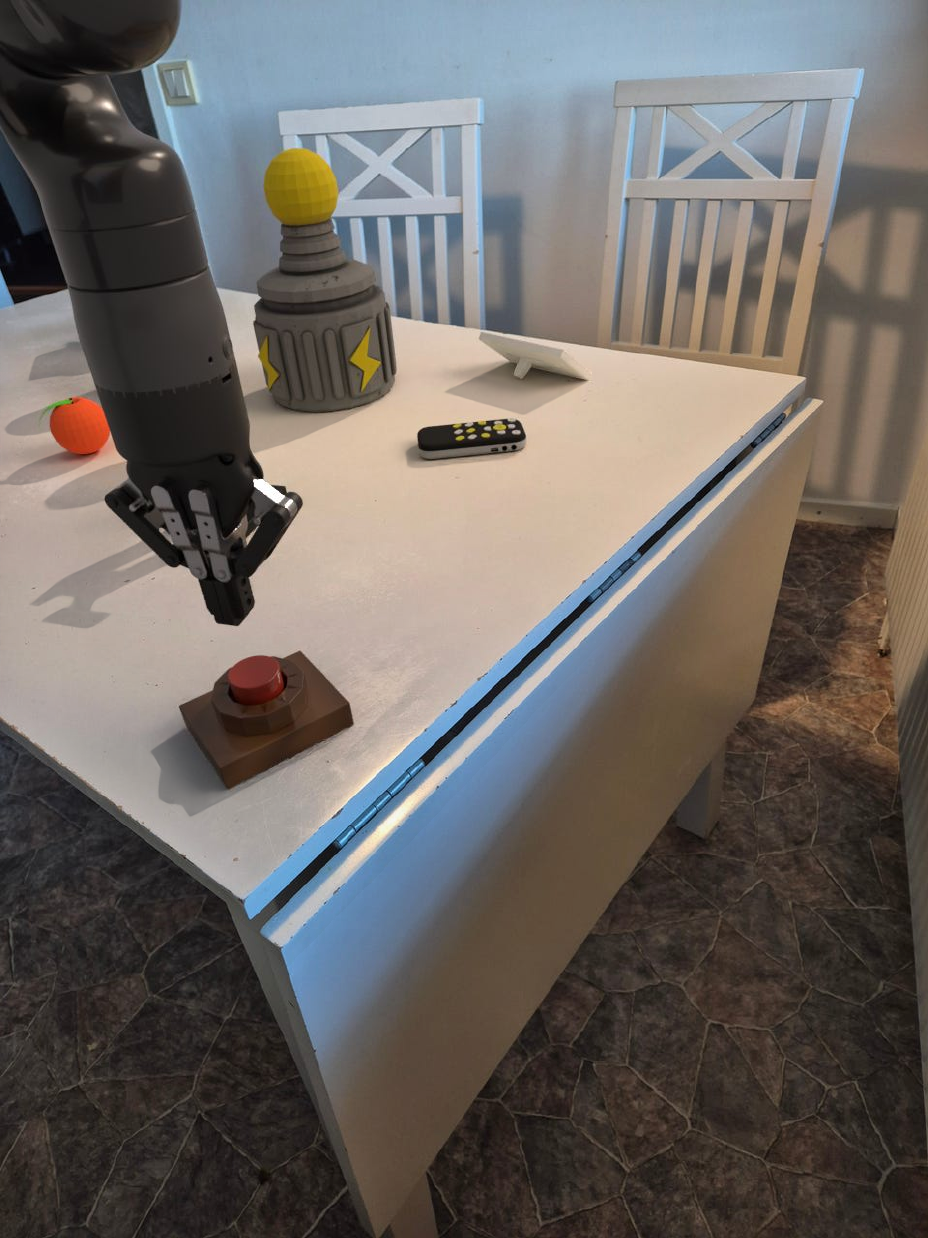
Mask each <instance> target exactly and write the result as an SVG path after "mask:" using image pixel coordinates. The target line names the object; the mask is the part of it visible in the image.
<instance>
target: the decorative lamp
mask: <svg viewBox="0 0 928 1238" xmlns="http://www.w3.org/2000/svg"><path fill="white" fill-rule="evenodd" d="M262 187H263V193H264V197H265V203H266V204H267V206H268V208H269V210H270V212H271V213H272V215H273V216H274V217H275V219H277V220H278V221H279V222H280V223H281V225H280V235H281V236H282V239H281V240H280V242H279V252H281V253H282V254H281V256H280V257H279V258H278V266H277V267H274V268H273V269H270V270H269V271H268V272H266V273H265V274H263V275H262V276H261V277H259V279H257V281H256V289H257V296H258V297H260V298H259V299H258V300H257V302H255V304H254V305H253V308H254V314H255V318H254V319H255V320H253V321H252V326H253V329H254V334H255V335H254V336H255V340H256V343H257V349H258V355H257V358H258V359H259V361H260V362H261V366H262V372H263V376H264V380H265V384H266V386H267V388H268V391H269V393H270V394H271V395H272V398H273V400H274V401H276V402H277V403H278V404H279V405H281V406H283V407H284V408H288V409H290V410H294V411H299V412H308V413H325V412H327V413H328V412H336V411H343V410H349V409H354V408H356V407H361V406H363V405H368V404H370V403H372V402H374V401H376V400H378V399H381V398H383V397H384V396H385V395H386V394H388V393H389V392H390V391H391V389H393V388H394V385H395V381H396V377H395V375H396V374H397V371H398V370H397V369H398V367H397V357H396V348H395V341H394V333H393V325H392V316H391V308H390V304H389V302H387V301H386V293H385V292H384V290H383V289H382V287H380V286H378V285H376V281H377V276H376V272H375V269H374V268H373V267H372V265H369V264H367V263H363V262H361V261H359V260H356V259H352V258H348V256H347V255H346V252H345V251H344V249H341V247H340V246H341V245H342V241H341V239H340V236H339V235H338V234H337V233H335V231H334V230H335V229H336V226H335V224H334V222H333V219H332V218H331V217H332V216H333V214H334V213H335V211H336V209H337V205H338V198H339V188H338V182H337V178H336V176H335V174H334V172H333V169H332V167H331V166H330V165H329V164H328V163H327V161H325V160H324V158H322V156H320V154H318V153H316V152H314V151H312V150H311V149H308V148H303V147H301V148H299V147H293V148H289V149H285V150H282V151H280V153H278V154H277V155H276V156H275V157H273V158H272V159H271V160H270V162H269V164H268V166H267V168H266V170H265V172H264V177H263V185H262Z"/></svg>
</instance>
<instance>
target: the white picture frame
mask: <svg viewBox="0 0 928 1238" xmlns="http://www.w3.org/2000/svg"><path fill="white" fill-rule="evenodd" d="M478 340H479V341H480V342H482V343H483V344H484V345H486V346H487V347H489V348H490V349H492V350H493V351H495V353H497V354H498V355H500V356H502V358H505V359H506V360H507V361H508V362H511V363H514V364H517V365H516V367H515V369H514V371H513V375H514V376H515V377H516V378H517V379H520V380H523V379H524V377H525V376H526V375H527V373H528V372H529V370H530V369H531V368H536V369H539V370H543V371H547V372H551V373H556V374H560V375H564V376H568V377H572V378H575V379H580V380H585V381H590V380H591V378H592V376H593V375H592V374H593V373H592V371H590V370H589V369H588V368H587V367H586V366H584V365H583V364H582V363H580V361H578V360H577V359H575V358H574V357H573V356H572V355H570V353H568V352H567V351H565V350H564V349H561V348H556V347H552V346H549V345H543V344H538V343H534V342H529V341H524V340H522V339H521V340H520V339H515V338H511V337H506V336H502V335H499V334H498V335H497V334H494V333H493V334H492V333H489V332H484V331H480V333H479V336H478Z"/></svg>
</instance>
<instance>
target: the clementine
mask: <svg viewBox="0 0 928 1238" xmlns="http://www.w3.org/2000/svg"><path fill="white" fill-rule="evenodd" d="M51 409H52V412H51V414H50V417H49V430H50V433H51V435H52V437H53V438H54V440H55V442H56V443H57V444H58V445H59V446H60V447H61V448H63V449H65V450H66V451H68V452H69V453H73V454H77V455H89V454H92V453H95V452H97V451H100V450H101V449H102V448H103V447H104V446H105V445H106V444H107V442H108V440H109V438H110V436H111V432H110V429H109V426H108V423H107V420H106V417H105V414H104V411H103V408H102V406H100V405H99V404H98V403H96V402H95V401H93V400H91V399H88V398H85V397H81V396H75V397H69V398H65V399H63V400H59V401H57V402H54V403H52V404H50V405H49V406H48V407H47V408H46V409H44V410H43V412H42V413H41V415H40V418H39V420H41V419H42V417H44V415H45V414H46V413H47V412H48V411H50V410H51ZM40 425H41V422H39V424H38V427H39V428H40V427H41V426H40Z"/></svg>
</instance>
